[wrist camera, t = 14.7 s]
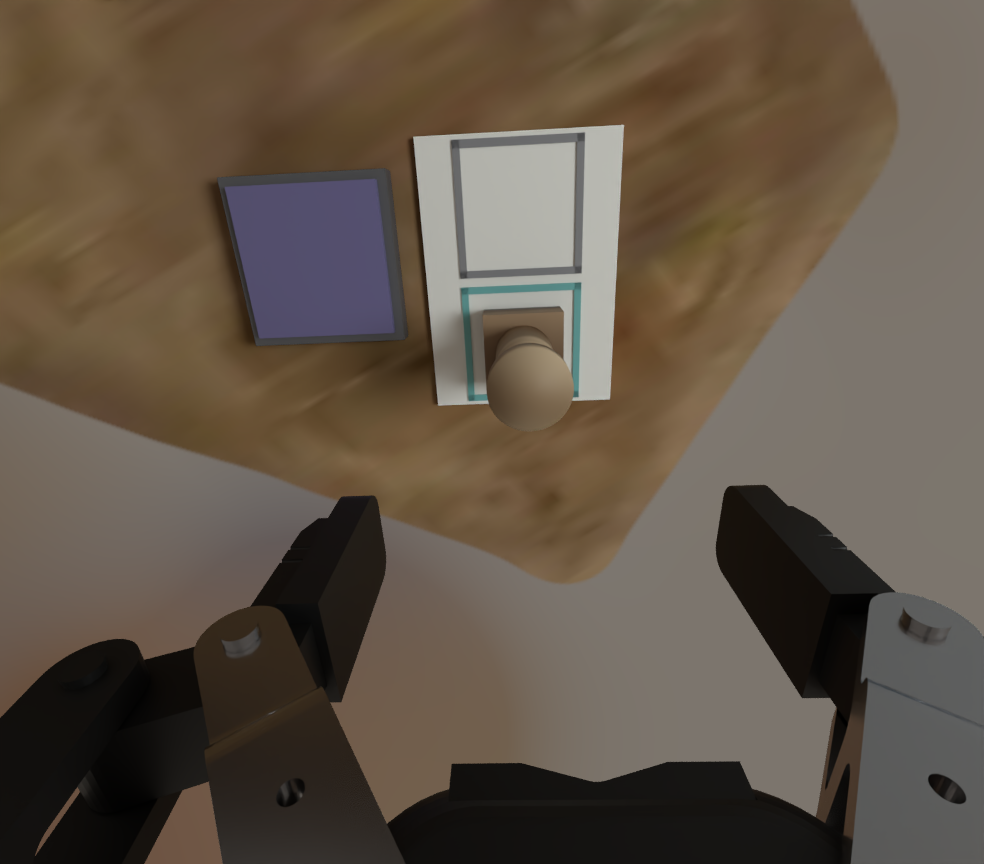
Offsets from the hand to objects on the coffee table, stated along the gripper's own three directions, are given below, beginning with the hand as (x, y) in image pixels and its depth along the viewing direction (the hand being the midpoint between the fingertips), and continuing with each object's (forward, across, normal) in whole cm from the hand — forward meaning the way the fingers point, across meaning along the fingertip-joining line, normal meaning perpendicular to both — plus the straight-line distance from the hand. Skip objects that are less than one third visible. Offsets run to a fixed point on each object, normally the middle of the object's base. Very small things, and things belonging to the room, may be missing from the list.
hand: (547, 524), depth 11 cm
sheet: (+20, 0, -4) cm, 20 cm away
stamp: (+20, 0, 0) cm, 20 cm away
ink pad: (+20, +11, -5) cm, 24 cm away
